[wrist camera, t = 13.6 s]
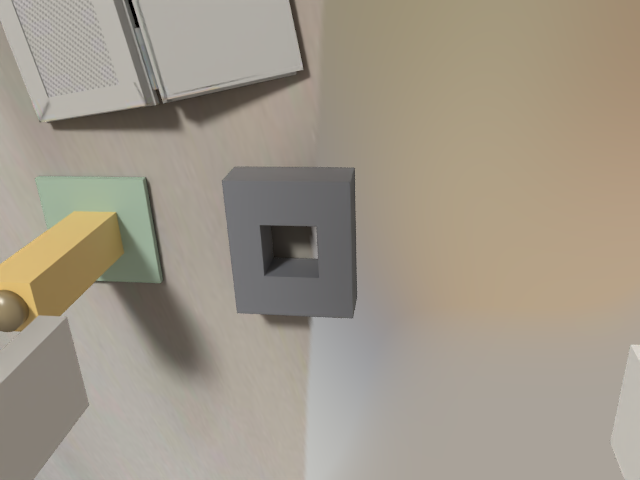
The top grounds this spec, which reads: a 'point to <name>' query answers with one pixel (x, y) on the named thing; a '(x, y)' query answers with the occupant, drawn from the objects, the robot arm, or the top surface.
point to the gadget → (144, 50)
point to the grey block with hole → (292, 210)
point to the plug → (57, 267)
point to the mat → (109, 197)
